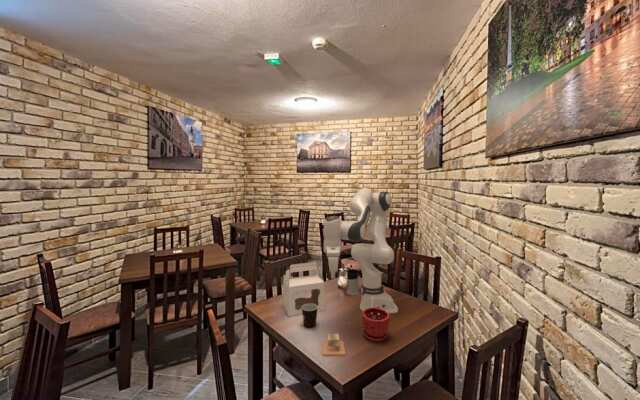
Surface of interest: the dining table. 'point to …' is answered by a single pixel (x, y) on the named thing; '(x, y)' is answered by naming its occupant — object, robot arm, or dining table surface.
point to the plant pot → (375, 324)
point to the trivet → (333, 353)
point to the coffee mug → (309, 315)
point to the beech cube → (333, 342)
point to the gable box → (303, 288)
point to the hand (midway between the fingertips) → (332, 274)
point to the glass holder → (352, 282)
